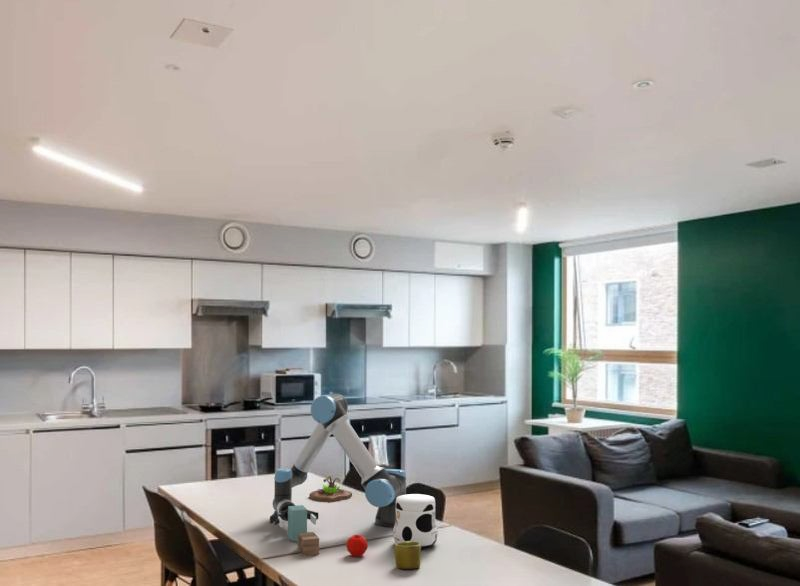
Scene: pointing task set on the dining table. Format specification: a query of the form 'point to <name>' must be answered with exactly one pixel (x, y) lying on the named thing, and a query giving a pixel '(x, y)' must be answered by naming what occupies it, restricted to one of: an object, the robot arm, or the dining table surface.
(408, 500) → the milk container
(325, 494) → the plant
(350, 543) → the apple
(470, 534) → the dining table surface
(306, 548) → the brown block
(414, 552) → the mug
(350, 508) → the dining table surface
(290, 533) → the teal pillar
